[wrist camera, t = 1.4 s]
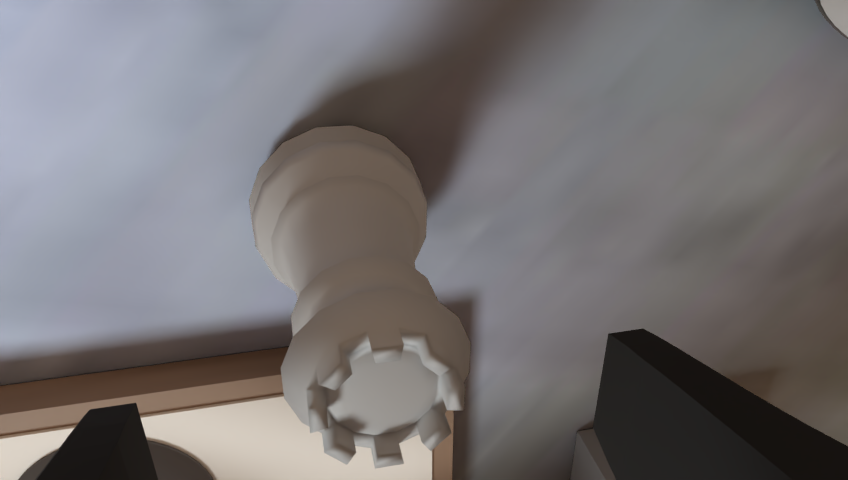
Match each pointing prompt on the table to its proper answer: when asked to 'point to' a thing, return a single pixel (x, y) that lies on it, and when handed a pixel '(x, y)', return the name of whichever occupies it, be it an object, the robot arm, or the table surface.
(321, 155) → the rook chess piece
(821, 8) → the spread jar
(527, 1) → the table surface
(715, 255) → the table surface
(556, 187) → the table surface
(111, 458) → the robot arm
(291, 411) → the board
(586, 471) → the button housing
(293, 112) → the table surface
